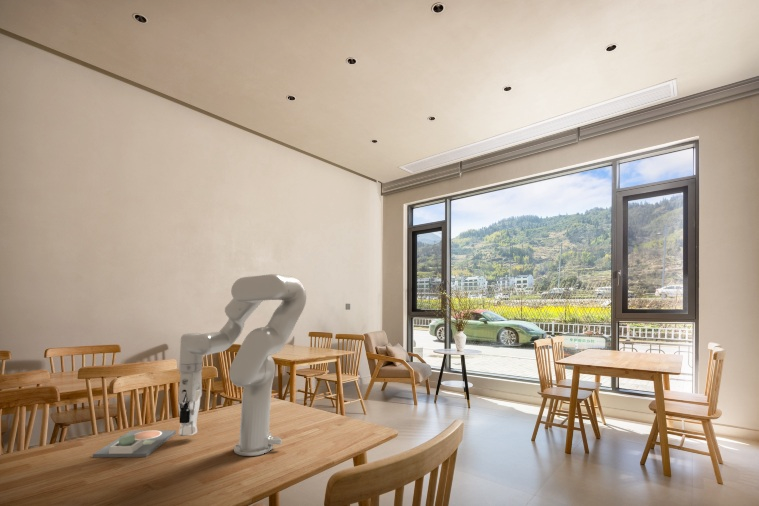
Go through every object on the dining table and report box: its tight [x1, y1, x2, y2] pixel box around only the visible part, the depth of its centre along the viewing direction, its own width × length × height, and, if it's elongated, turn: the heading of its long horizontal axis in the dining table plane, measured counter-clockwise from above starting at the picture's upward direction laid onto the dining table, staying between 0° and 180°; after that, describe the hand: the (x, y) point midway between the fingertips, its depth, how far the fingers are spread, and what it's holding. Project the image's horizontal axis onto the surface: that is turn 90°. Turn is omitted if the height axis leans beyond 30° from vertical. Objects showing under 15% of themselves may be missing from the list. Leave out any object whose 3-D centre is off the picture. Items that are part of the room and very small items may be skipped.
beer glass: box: [177, 388, 201, 437], centre depth 140 cm, size 7×7×15 cm
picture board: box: [92, 429, 177, 458], centre depth 134 cm, size 16×22×3 cm
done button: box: [118, 434, 135, 446], centre depth 127 cm, size 4×4×2 cm
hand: (188, 419), depth 139 cm, fingers closed on beer glass, 6 cm apart
